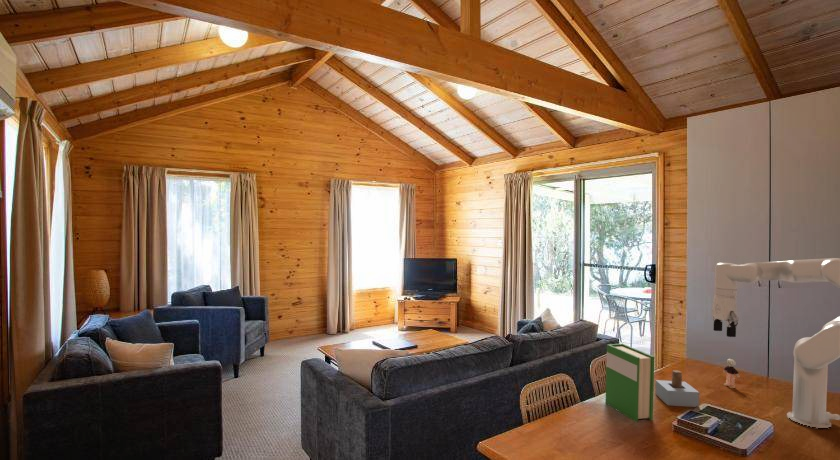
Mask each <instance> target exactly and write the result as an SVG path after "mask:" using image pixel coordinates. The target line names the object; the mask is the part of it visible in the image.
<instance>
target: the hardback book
mask: <svg viewBox="0 0 840 460" xmlns="http://www.w3.org/2000/svg"><path fill="white" fill-rule="evenodd" d="M605 368H606V369H605V371H606V372H605V373H606V375H605V404H607V405H608V404H609V405H608V406H610V407H612V408H613V409H615V410H616V409H617V410H616V411H618V412H620V413H621V414H623V415H624V416H626V417H627V418H629V419H630V420H632V421H633V422H635V423H637V422H639V420H640V419H648V420H649V421H653V418H654V392H655V391H654V390H655V388H654V387H655V383H654V382H655V355H652V354H649V353H646V352H644V351H642V350H640V349H637V348H634V347H632V346H629V345H628V344H625V343H613V344H611V343H609V344H606V367H605Z"/></svg>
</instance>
